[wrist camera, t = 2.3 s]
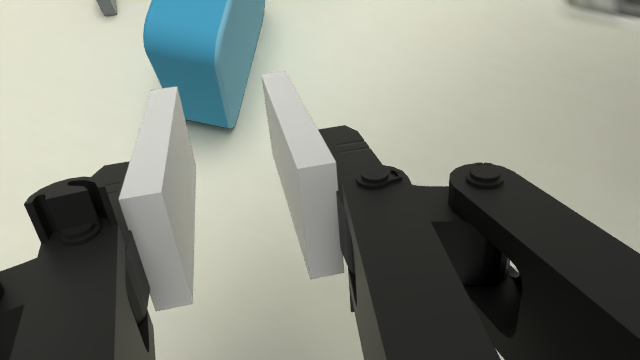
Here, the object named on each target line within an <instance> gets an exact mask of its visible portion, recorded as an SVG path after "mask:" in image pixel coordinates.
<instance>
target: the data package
mask: <svg viewBox="0 0 640 360" xmlns="http://www.w3.org/2000/svg"><path fill="white" fill-rule="evenodd" d="M264 8H265V0H152V1H151V4H150V7H149V10H148V13H147V16H146V20H145V24H144V34H143V40H144V48H145V51H146V54H147V56H148V58H149V60H150V62H151V64H152V67H153V69H154V71H155V73H156V75H157V77H158V79H159V82H160V84H161V86H162V88H169V87H178V91H179V96H180V100H181V104H182V109H183V113H184V117H185V119H187V120H192V121H196V122H201V123H206V124H211V125H216V126H221V127H226V128H233V127H234V126H235V124H236V121H237V118H238V115H239V111H240V107H241V103H242V99H243V95H244V91H245V87H246V84H247V80H248V76H249V72H250V68H251V64H252V60H253V56H254V52H255V49H256V45H257V41H258V37H259V33H260V29H261V25H262V21H263V16H264Z"/></svg>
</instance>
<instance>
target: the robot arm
mask: <svg viewBox="0 0 640 360" xmlns="http://www.w3.org/2000/svg"><path fill="white" fill-rule="evenodd" d="M261 76H262V83H263V90H264V97H265V104H266V111H267V118H268V125H269V132H270V139H271V146H272V153H273V157H274V160H275V164H276V167H277V170H278V174H279V177H280V180H281V183H282V187H283V190H284V193H285V197H286V200H287V203H288V207H289V210H290V213H291V217H292V220H293V223H294V227H295V230H296V233H297V236H298V240H299V243H300V246H301V250H302V253H303V256H304V260H305V263H306V266H307V270H308V273H309V276H310V279H315V278H320V277H325V276H329V275H334V274H339V273H344V264H343V256H344V258H345V260H346V263H347V265H348V274H349V289H350V303H351V312H355V316H356V321H357V326H358V331H359V336H360V341H361V346H362V351H363V356H364V360H501V359H500V357H499V355H498V353H497V351H498V352H499V353H500V354H501V356H502V357H503V358H504V359H505V360H640V254H639V253H638V252H636V251H635V250H633V249H632V248H630V247H628V246H627V245H625V244H624V243H622V242H621V241H619V240H618V239H616V238H615V237H613V236H612V235H610V234H608V233H607V232H605V231H604V230H602V229H601V228H599V227H598V226H596V225H595V224H593V223H592V222H590V221H589V220H587V219H585V218H584V217H582V216H581V215H579V214H578V213H576V212H575V211H573V210H572V209H570V208H569V207H567V206H566V205H564V204H562V203H561V202H559V201H558V200H556V199H555V198H553V197H552V196H550V195H549V194H547V193H546V192H544V191H543V190H541V189H539V188H538V187H536V186H535V185H533V184H532V183H530V182H529V181H527V180H526V179H524V178H523V177H521V176H520V175H518V174H516V173H515V172H513V171H511V170H509V169H507V168H505V167H502V166H498V165H493V164H491V163H484V164H483V163H474V164H468V165H463V166H461V167H458V168H456V169H454V170H453V171H452V172H451V173H450V179H449V186H431V187H428V186H415V185H412V184H411V182H410V180H409V178H408V176H407V175H406V174H405V173H404V172H403V171H401V170H399V169H397V168H394V167H391V166H385V165H382V164H381V162H380V161H379V159H378V158H377V157H376V155H375V154H374V153H373V151H372V150H371V149H369V146H368V145H367V143H366V142H364V139H363V138H362V136H361V135H360V134H359V132H358V131H356V130H354V129H352V128H349V127H347V126H345V125H344V126H338V127H331V128H325V129H319V130H318V129H317V127H316V125H315V123H314V122H313V120H312V118H311V116H310V114H309V113H308V111H307V109H306V107H305V105H304V104H303V102H302V100H301V98H300V96H299V95H298V93H297V91H296V89H295V87H294V85H293V84H292V82H291V80H290V78H289V76H288V75H287V73H286V71H283V72H276V73H268V74H261ZM195 189H196V164H195V160H194V156H193V152H192V147H191V143H190V139H189V134H188V130H187V126H186V121H185V117H184V113H183V109H182V104H181V100H180V96H179V91H178V87H169V88H162V89H155V90H151V93H150V96H149V100H148V103H147V106H146V110H145V113H144V116H143V120H142V123H141V126H140V130H139V133H138V136H137V140H136V143H135V146H134V150H133V153H132V156H131V160H130V162H124V163H117V164H111V165H105V166H103V167H102V168H101V169H100V170H99V171H97V172H96V173H95V174H94V175H93V176H92V177H78V178H70V179H66V180H63V181H59V182H56V183H53V184H51V185H49V186H46V187H44V188H42V189H40V190H38V191H37V192H36V193H34V194H33V195H31V196H30V197H29V198H28V199H27V201H26V202H25V203H24V205H25V208H26V210H27V212H28V214H29V217H30V219H31V221H32V223H33V226H34V228H35V230H36V232H37V235H38V237H39V239H40V241H41V246H40V250H39V253H38V257H37V258H35V259H33V260H30V261H28V262H25V263H23V264H20V265H17V266H14V267H12V268H9V269H6V270H3V271H0V360H155V345H154V330H153V325H152V322H151V319H150V316H149V313H148V310H147V306H148V299H149V293H150V296H151V299H152V302H153V305H154V308H155V311H160V310H165V309H169V308H174V307H179V306H184V305H189V304H193V268H194V229H195ZM510 260H511V261H512V263H513V264H514V265H515V266H516V268H517V270H518V272H517V271H516V270H515V269H514V268H513V267H511V266H510ZM496 350H497V351H496Z"/></svg>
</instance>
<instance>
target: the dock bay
mask: <svg viewBox="0 0 640 360" xmlns="http://www.w3.org/2000/svg"><path fill="white" fill-rule="evenodd" d="M96 1H97V2H98V4H99V6H100V8H101V10H102V12H103V13H104V15H105V16H110V15H117V7H116V0H96Z"/></svg>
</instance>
